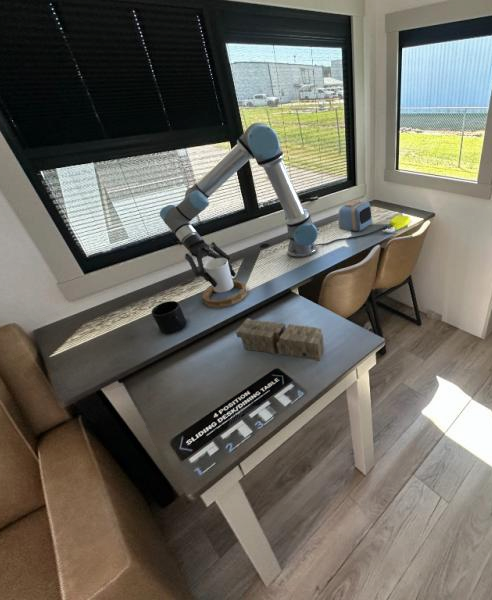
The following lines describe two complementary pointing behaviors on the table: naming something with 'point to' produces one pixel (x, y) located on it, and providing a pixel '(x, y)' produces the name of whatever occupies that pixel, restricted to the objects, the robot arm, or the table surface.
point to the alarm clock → (355, 215)
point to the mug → (169, 317)
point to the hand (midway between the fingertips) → (225, 280)
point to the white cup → (219, 274)
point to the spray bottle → (398, 223)
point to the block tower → (282, 338)
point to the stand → (227, 301)
